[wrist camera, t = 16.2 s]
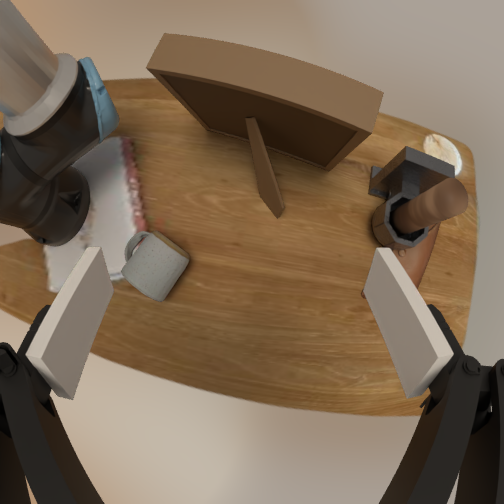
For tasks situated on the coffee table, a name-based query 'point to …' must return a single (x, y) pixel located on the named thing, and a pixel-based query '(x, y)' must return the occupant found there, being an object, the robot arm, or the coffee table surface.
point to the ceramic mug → (154, 264)
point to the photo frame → (267, 103)
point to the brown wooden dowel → (430, 207)
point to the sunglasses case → (417, 256)
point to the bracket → (404, 191)
